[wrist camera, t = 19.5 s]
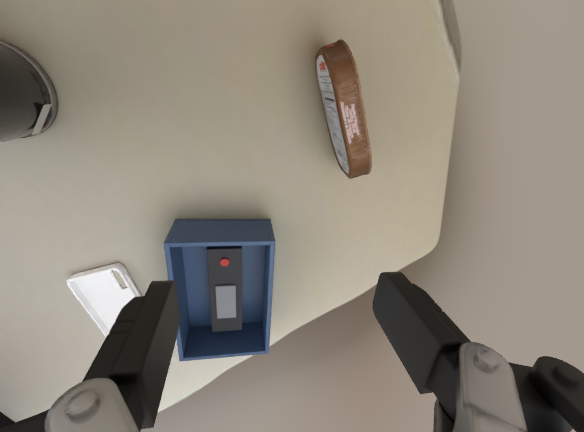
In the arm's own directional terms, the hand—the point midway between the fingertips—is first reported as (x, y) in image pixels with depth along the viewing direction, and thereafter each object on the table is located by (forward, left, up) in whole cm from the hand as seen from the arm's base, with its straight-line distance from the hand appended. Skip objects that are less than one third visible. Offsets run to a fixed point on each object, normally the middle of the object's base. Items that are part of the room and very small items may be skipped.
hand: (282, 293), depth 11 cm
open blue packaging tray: (-4, -20, -28) cm, 35 cm away
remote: (-4, -20, -28) cm, 34 cm away
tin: (+10, +5, -28) cm, 30 cm away
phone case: (-20, -25, -28) cm, 43 cm away
